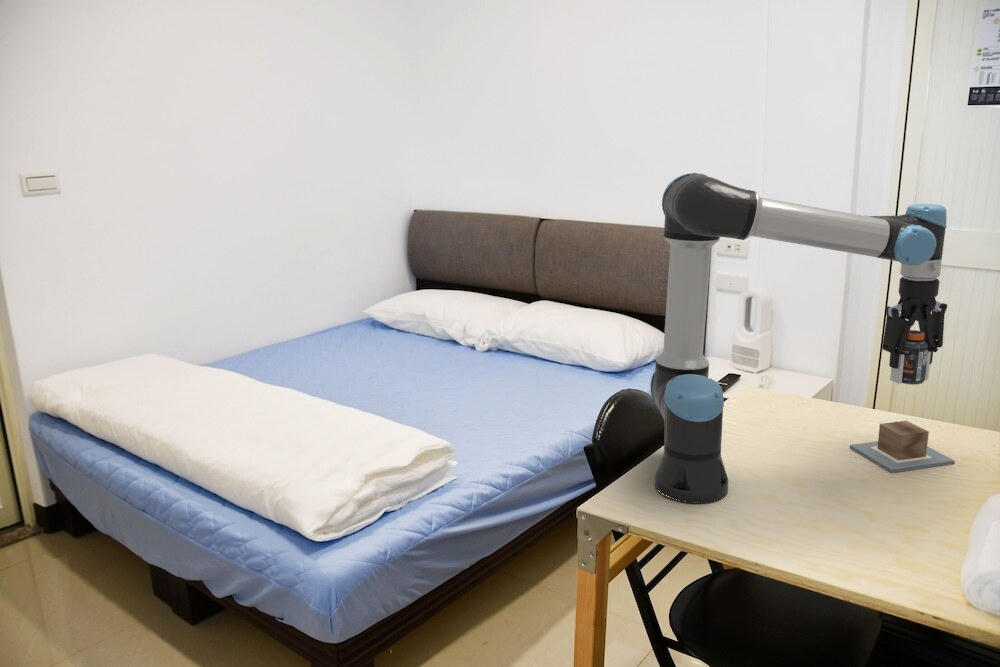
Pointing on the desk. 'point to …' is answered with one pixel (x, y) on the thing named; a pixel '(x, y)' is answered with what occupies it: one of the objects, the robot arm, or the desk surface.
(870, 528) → the desk surface
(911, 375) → the pill bottle
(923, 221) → the robot arm
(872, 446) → the board
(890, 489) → the desk surface
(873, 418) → the desk surface
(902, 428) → the walnut block
